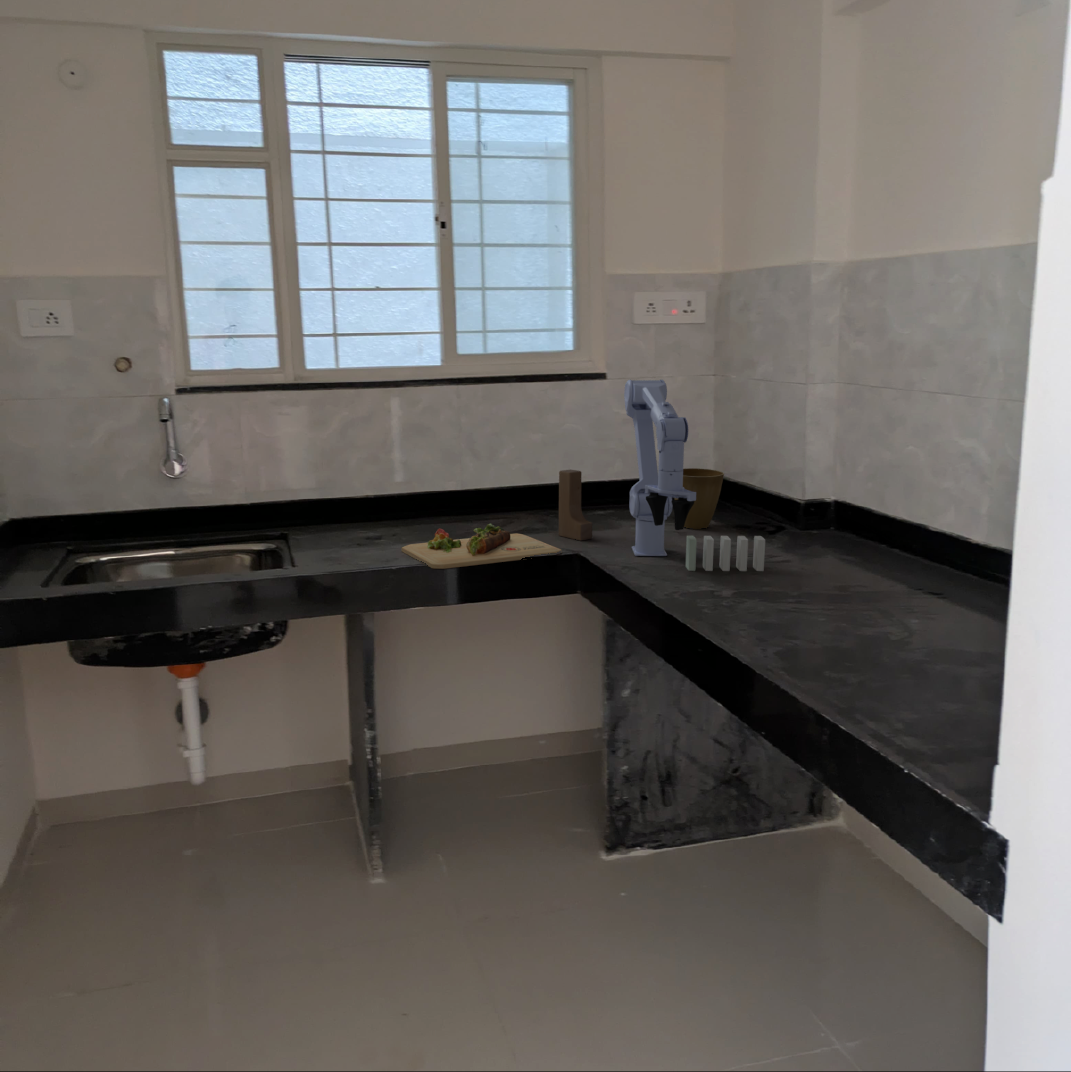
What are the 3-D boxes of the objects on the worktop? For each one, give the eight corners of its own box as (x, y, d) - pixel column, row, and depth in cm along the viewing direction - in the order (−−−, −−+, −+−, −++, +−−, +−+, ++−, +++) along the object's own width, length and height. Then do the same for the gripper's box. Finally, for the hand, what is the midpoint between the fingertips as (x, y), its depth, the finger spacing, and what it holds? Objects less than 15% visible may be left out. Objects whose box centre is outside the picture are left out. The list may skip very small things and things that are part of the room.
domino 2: (702, 566, 235) (703, 535, 234) (709, 566, 235) (710, 535, 234) (705, 570, 231) (707, 539, 229) (712, 570, 231) (713, 539, 229)
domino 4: (736, 566, 235) (737, 535, 234) (742, 566, 235) (744, 535, 234) (739, 571, 231) (741, 539, 229) (746, 571, 231) (748, 539, 229)
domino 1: (685, 566, 235) (686, 535, 234) (692, 566, 235) (693, 535, 234) (688, 570, 231) (689, 539, 229) (695, 570, 231) (696, 539, 229)
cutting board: (434, 572, 231) (434, 541, 229) (399, 552, 251) (399, 523, 250) (564, 557, 247) (564, 527, 246) (521, 539, 267) (521, 512, 266)
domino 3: (719, 566, 235) (720, 535, 234) (726, 566, 235) (727, 535, 234) (722, 570, 231) (724, 539, 229) (729, 570, 231) (731, 539, 229)
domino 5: (752, 566, 235) (754, 536, 234) (759, 566, 235) (761, 536, 234) (756, 571, 231) (758, 539, 229) (763, 571, 231) (765, 539, 229)
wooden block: (592, 538, 265) (593, 472, 262) (580, 541, 263) (581, 474, 259) (569, 533, 272) (570, 469, 268) (557, 535, 269) (558, 470, 266)
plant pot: (659, 524, 286) (660, 469, 282) (702, 520, 292) (704, 467, 288) (687, 534, 272) (689, 476, 269) (732, 529, 279) (734, 473, 275)
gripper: (706, 471, 225) (703, 530, 228) (660, 465, 236) (658, 520, 239) (685, 474, 221) (682, 533, 224) (639, 467, 232) (637, 524, 235)
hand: (668, 527), depth 231 cm, fingers open, 6 cm apart
